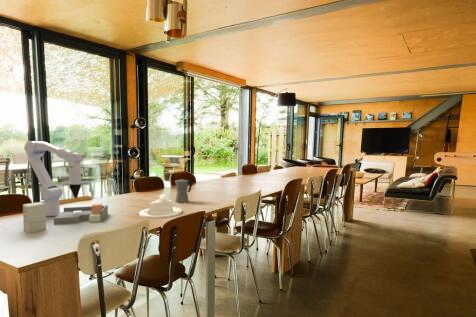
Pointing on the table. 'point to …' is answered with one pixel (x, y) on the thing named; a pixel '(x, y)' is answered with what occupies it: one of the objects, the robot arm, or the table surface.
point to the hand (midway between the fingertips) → (75, 197)
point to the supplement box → (34, 217)
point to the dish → (161, 208)
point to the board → (80, 215)
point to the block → (96, 208)
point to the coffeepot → (182, 190)
